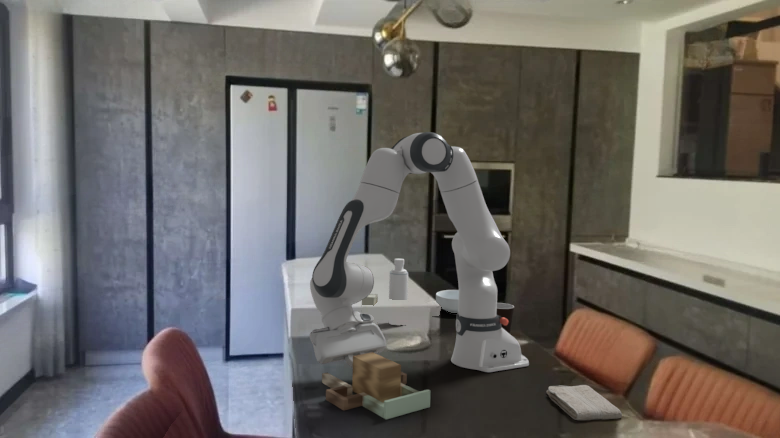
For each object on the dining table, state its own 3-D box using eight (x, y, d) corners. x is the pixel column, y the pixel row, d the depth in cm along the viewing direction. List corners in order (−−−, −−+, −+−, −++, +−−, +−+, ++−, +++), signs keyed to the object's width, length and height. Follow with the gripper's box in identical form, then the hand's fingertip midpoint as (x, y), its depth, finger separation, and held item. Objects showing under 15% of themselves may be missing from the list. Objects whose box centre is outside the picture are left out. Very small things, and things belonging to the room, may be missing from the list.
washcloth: (585, 392, 162) (586, 381, 162) (624, 421, 145) (625, 408, 144) (542, 394, 160) (543, 383, 160) (576, 423, 142) (577, 410, 142)
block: (352, 390, 158) (352, 356, 157) (371, 386, 162) (372, 352, 161) (380, 406, 149) (380, 369, 148) (400, 401, 152) (401, 364, 151)
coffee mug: (515, 338, 209) (516, 309, 208) (489, 337, 209) (490, 308, 208) (509, 329, 221) (510, 301, 220) (484, 328, 221) (485, 300, 220)
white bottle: (390, 326, 221) (391, 256, 218) (387, 321, 227) (388, 253, 225) (408, 326, 222) (410, 256, 219) (405, 321, 228) (407, 253, 226)
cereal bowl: (433, 315, 238) (433, 297, 237) (437, 305, 254) (437, 288, 254) (478, 318, 235) (479, 300, 234) (479, 308, 251) (480, 291, 251)
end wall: (383, 418, 142) (383, 400, 142) (427, 405, 150) (427, 389, 149) (386, 419, 141) (386, 402, 141) (430, 407, 149) (430, 390, 149)
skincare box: (373, 333, 212) (374, 297, 211) (360, 332, 213) (361, 296, 212) (377, 328, 218) (378, 293, 217) (365, 327, 219) (365, 293, 218)
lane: (304, 386, 160) (304, 377, 160) (378, 370, 174) (378, 361, 174) (364, 423, 139) (364, 412, 139) (443, 401, 153) (443, 391, 153)
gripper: (311, 324, 159) (331, 372, 152) (377, 314, 171) (398, 358, 164) (302, 337, 163) (321, 385, 156) (367, 326, 175) (387, 370, 168)
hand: (361, 371), depth 160 cm, fingers closed, pressing on block
